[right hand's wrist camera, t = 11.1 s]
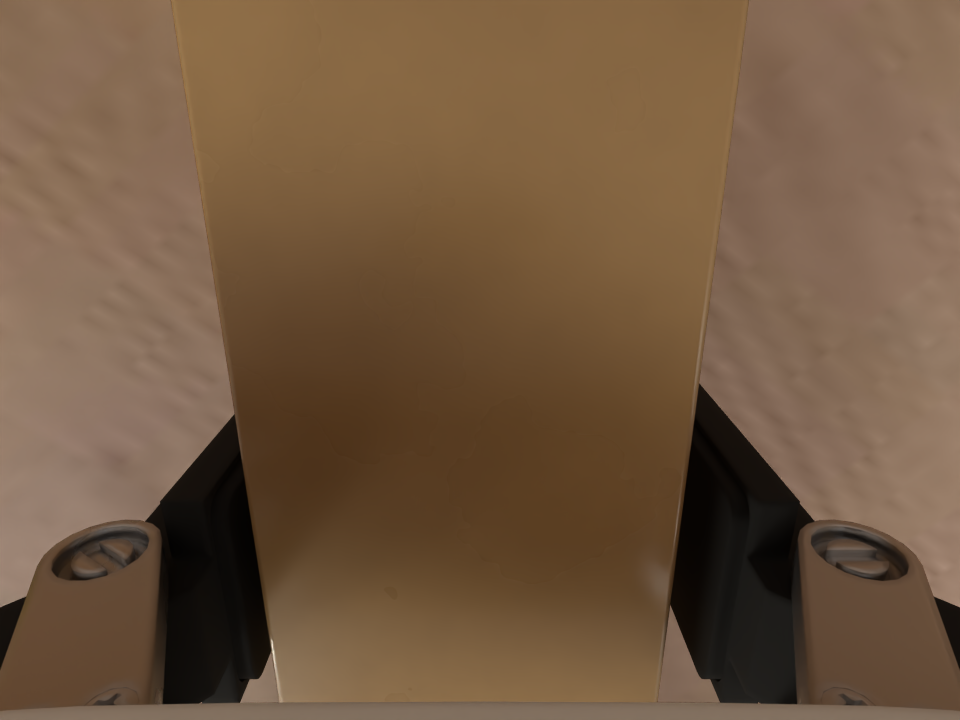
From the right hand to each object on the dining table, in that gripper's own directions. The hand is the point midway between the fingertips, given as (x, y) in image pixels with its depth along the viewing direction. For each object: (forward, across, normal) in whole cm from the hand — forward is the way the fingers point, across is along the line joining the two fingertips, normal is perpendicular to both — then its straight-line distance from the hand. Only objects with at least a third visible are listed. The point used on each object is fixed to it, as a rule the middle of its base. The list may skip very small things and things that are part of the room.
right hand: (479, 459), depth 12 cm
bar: (+3, 0, -28) cm, 28 cm away
